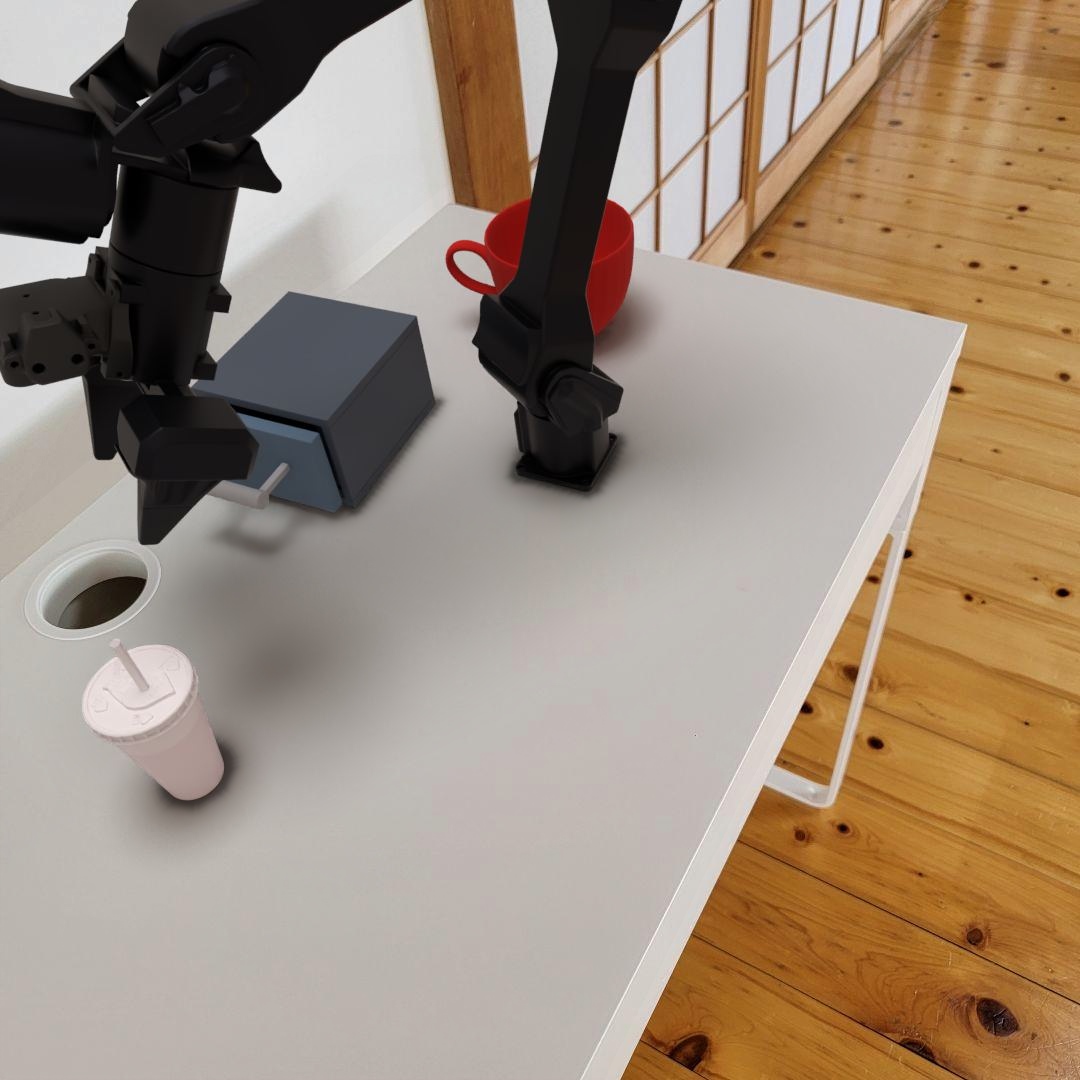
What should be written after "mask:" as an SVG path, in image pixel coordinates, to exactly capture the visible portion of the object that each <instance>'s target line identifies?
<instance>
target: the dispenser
mask: <svg viewBox="0 0 1080 1080" xmlns="http://www.w3.org/2000/svg"><path fill="white" fill-rule="evenodd" d="M215 362H216V363H217V370H216V375H215V379H214V381H212V380H196V381H195V382H194V383H193V384H192V385H191V386H190V388H191V389H192V390H193V392H194V393H195V395H196V396H197V397H219V398H225V400H226V401H227V402H228V403H229V404H231V405H235V406H240V407H244V408H248V409H252V410H256V411H260V412H264V413H268V414H272V415H276V416H280V417H284V418H288V419H293V420H297V421H301V422H305V423H309V424H313V425H317V426H321V428H322V431H323V434H324V437H325V440H326V443H327V446H328V449H329V452H330V455H331V458H332V461H333V464H334V467H335V470H336V473H337V476H338V479H339V482H340V485H341V486H339V485H337V488H338V491H339V494H340V497H341V500H342V504H341V505H343V506H346V507H350V508H354V509H356V508H357V507H358V506H359V504H360V503H361V502H362V501H363V499H364V497H365V496H366V495H367V494H368V492H369V491H370V490H371V488H372V487H373V486H374V485H375V484H376V482H377V480H378V479H380V477H381V475H382V474H383V473H384V471H385V470H386V469H387V468H388V466H389V465H390V464H391V462H392V461H393V460H394V458H395V457H396V455H397V454H398V453H399V452H400V450H401V449H402V448H403V446H404V445H405V444H406V442H407V441H408V440H409V439H410V438H411V436H412V435H413V433H415V431H416V429H417V428H418V427H419V426H420V425H421V423H422V422H423V421H424V419H425V418H426V416H427V415H428V414H429V413H430V411H431V410H432V409H433V407H434V406H435V405H436V397H435V394H434V389H433V385H432V381H431V376H430V371H429V367H428V366H429V365H428V362H427V357H426V352H425V348H424V344H423V338H422V335H421V330H420V325H419V319H418V316H417V315H415V314H409V313H406V312H405V313H404V312H400V311H399V312H398V311H394V310H390V309H389V310H388V309H383V308H379V307H373V306H369V305H363V304H359V303H352V302H349V301H348V302H347V301H341V300H338V299H337V300H336V299H333V298H327V297H322V296H316V295H310V294H305V293H300V292H295V291H289V290H288V291H287V292H286V293H285V294H284V295H283V296H282V297H281V298H280V299H279V300H278V301H277V302H276V303H275V304H274V305H272V307H271V308H270V309H268V311H267V312H266V313H265V314H264V315H263V316H262V317H261V318H260V319H259V320H258V321H257V322H255V323H254V324H253V326H251V327H250V329H249V330H247V331H246V332H245V333H244V334H243V335H242V336H241V337H240V338H239V339H238V340H237V341H236V342H235V343H234V344H233V345H232V346H231V347H230V348H229V349H228V350H227V351H226V352H225V353H224V354H223V355H221V356H220V358H219V359H218V360H217V361H215Z"/></svg>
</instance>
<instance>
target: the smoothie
mask: <svg viewBox="0 0 1080 1080" xmlns="http://www.w3.org/2000/svg"><path fill="white" fill-rule="evenodd" d="M109 647H110V648H111V650H112V651H113V652H114V655H116V656H113V658H111V659H109V660H108V661H107V662H105V663H104V664H103V665H102V666H101V667H100V668H99V669H98V670H97V671H96V672H95V673H94V675H92V677H91V678H90V680H89V681H88V683H87V685H86V687H85V689H84V692H83V695H82V699H81V711H82V712H81V713H82V716H83V718H84V720H85V722H86V723H87V725H88V727H89V729H90V730H91V731H92V734H93V735H94V736H95V737H96V738H98V739H100V740H101V741H102V742H104V743H108V744H111V745H114V746H115V747H117V748H118V749H119V750H120V751H121V752H122V753H124V754H125V755H126V756H127V757H128V758H129V759H130V760H131V761H133V763H135V764H136V765H137V766H139V768H141V769H142V770H143V771H144V772H145V773H146V774H147V775H149V776H150V777H151V778H152V779H153V780H154V781H155V782H157V783H158V784H159V786H161V787H162V788H163V789H165V790H166V791H167V792H168V793H169V795H171V796H172V797H174V798H175V799H178V800H181V801H193V800H197V799H200V798H203V797H205V796H206V795H208V794H209V793H211V792H212V791H213V790H214V789H216V787H217V786H218V785H219V783H220V782H221V780H222V779H223V776H224V772H225V762H224V759H223V756H222V754H221V751H220V748H219V745H218V743H217V740H216V737H215V734H214V731H213V729H212V726H211V724H210V720H209V718H208V715H207V713H206V709H205V706H204V704H203V702H202V699H201V696H200V693H199V677H198V673H197V670H196V669H197V668H195V667H194V665H193V664H192V662H191V661H190V659H189V658H188V657H187V656H186V655H185V654H184V653H183V652H182V651H181V650H179V649H177V648H176V647H173V646H170V645H165V644H144V645H140V646H137V647H134V648H130V649H126V648H125V646H124V644H123V643H122V641H121V640H120V639H118V638H115V639H112V640H111V641H110V642H109Z"/></svg>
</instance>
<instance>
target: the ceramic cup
mask: <svg viewBox="0 0 1080 1080" xmlns="http://www.w3.org/2000/svg"><path fill="white" fill-rule="evenodd" d="M530 201H531V197H528V198H526V199H523V200H520V201H517V202H516V203H513V204H511V205H510V206H508V207H506V208H504V209H503V210H501V211H500V212H498V213H497V214H496V215H495V216H494V217H493V218H492V219H491V221H490V222H489V223H488V225H487V227H486V229H485V231H484V236H483V243H484V244H483V243H480V242H479V241H474V240H471V239H459V240H456V241H454V242H453V243H451V244H450V245H449V247H448V248H447V249H446V254H445V258H444V260H445V265H446V268H447V271H448V272H449V274H450V275H451V276H452V278H453V279H454V280H455V281H456V282H457V283H458V284H460V285H461V286H462V287H464V288H466V289H467V290H470V291H472V292H474V293H477V294H480V295H481V296H483V295H484V294H493V295H499V294H500V293H501V292H502V291H503V289H504V288H505V287H506V286H507V285H508V284H509V283H510V282H511V280H512V279H513V278H514V277H515V275H516V273H517V269H518V265H519V259H520V254H521V249H522V243H523V238H524V233H525V228H526V222H527V217H528V212H529V206H530ZM634 229H635V226H634V222H633V219H632V217H631V214H630V213H629V212H628V211H627V210H626V209H625V208H624V207H623V206H622V205H620V204H619V203H617V202H616V201H614V200H612V199H609V198H607V202H606V207H605V211H604V215H603V219H602V224H601V228H600V232H599V236H598V241H597V245H596V249H595V254H594V258H593V262H592V266H591V271H590V275H589V279H588V284H587V289H586V298H587V302H588V307H589V312H590V316H591V321H592V326H593V330H594V335H595V338H596V337H597V336H599V334H600V333H601V332H602V331H603V329H605V328H606V327H607V326H608V325H609V324H610V323H611V321H612V320H613V319H614V318H615V316H616V315H617V313H618V312H619V310H620V309H621V307H622V305H623V304H624V301H625V298H626V295H627V292H628V290H629V287H630V283H631V278H632V274H633V266H634V254H635V230H634ZM459 252H470V253H473V254H475V255H477V256H478V257H480V258H481V260H483V261H484V263H485V264H486V266H487V268H488V270H489V271H490V274H491V275H490V276H491V278H492V282H493V285H491V284H487V283H486V282H485V283H484V282H482V281H480V280H476V279H474V278H472V277H470V276H469V275H467V274H466V273H465V272H463V271H462V269H461V268H460V267H459V266H458V264H457V263H456V261H455V258H454V255H455V254H456V253H459Z"/></svg>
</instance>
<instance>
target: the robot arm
mask: <svg viewBox="0 0 1080 1080" xmlns="http://www.w3.org/2000/svg"><path fill="white" fill-rule="evenodd" d="M412 1H413V0H136V1H134V3H133V4H132V6H131V7H130V9H129V11H128V12H127V20H126V24H125V25H126V26H125V31H124V35H123V37H122V38H121V39H119V40H118V41H117V42H116V43H115V44H114V45H113V46H112V47H111V48H109V49H108V50H107V51H106V52H105V53H104V54H103V55H102V56H100V57H99V58H98V60H96V61H95V62H94V63H93V64H92V65H91V66H90V67H89V68H87V69H86V70H85V71H84V72H83V73H82V74H81V75H80V76H79V77H78V78H77V79H76V80H75V81H74V82H72V83H71V84H70V86H69V94H70V96H67V95H62V94H57V93H53V92H50V91H49V92H48V91H44V90H39V89H35V88H30V87H26V86H22V85H16V84H13V83H10V82H7V81H5V80H3V79H1V78H0V235H5V236H6V235H7V236H12V237H20V238H29V239H33V240H34V239H35V240H42V241H51V242H57V243H64V244H66V243H67V244H71V245H72V244H73V245H83V244H85V243H86V242H87V241H88V239H89V238H90V239H98V240H99V239H101V237H102V235H103V233H104V229H105V227H107V226H108V225H109V224H110V222H111V228H110V234H109V240H108V246H107V247H106V246H100V245H95V250H94V252H90V253H89V254H88V258H87V266H86V270H85V274H84V275H80V276H73V277H69V276H68V277H65V278H62V277H54V278H46V279H42V280H37V281H32V282H27V283H22V284H16V285H12V286H7V287H1V288H0V375H1V377H2V380H3V382H4V383H5V384H6V385H8V386H10V387H13V388H27V387H33V386H36V385H39V386H46V385H50V384H54V383H59V382H63V381H68V380H71V379H75V378H80V377H81V380H82V381H81V382H82V387H83V393H84V399H85V405H86V406H85V407H86V413H87V420H88V426H89V427H88V428H89V432H90V433H89V434H90V442H91V448H92V454H93V457H94V459H95V460H96V461H112V460H113V459H114V458H115V457H116V456H117V454H118V456H119V458H120V459H121V461H122V463H123V465H124V466H125V468H126V470H127V472H128V473H129V474H130V475H131V476H132V477H133V478H134V479H136V480H137V483H136V484H137V485H136V487H137V488H136V490H137V492H136V493H137V495H136V496H137V498H136V503H137V504H136V505H137V506H136V511H137V512H136V521H137V541H138V542H139V544H140V545H141V546H156V545H159V544H160V543H162V541H163V540H164V539H165V538H166V537H167V536H168V535H169V534H170V533H171V532H172V530H173V529H174V528H175V527H176V526H177V525H179V523H181V521H182V520H183V519H184V518H185V516H187V515H188V514H189V513H190V512H191V510H192V509H193V508H194V507H195V506H197V504H198V503H199V502H200V501H201V500H202V499H203V498H204V497H205V496H207V495H206V494H207V493H209V492H210V491H211V490H212V489H213V488H214V487H216V486H217V485H218V484H219V483H220V482H221V481H222V480H247V479H248V478H249V477H250V476H251V475H252V474H253V470H254V466H255V462H256V458H257V454H258V450H259V445H260V444H259V443H258V442H257V440H256V439H255V437H254V436H253V435H252V433H251V432H250V431H249V429H248V428H247V426H246V425H245V424H244V422H243V421H242V420H241V418H240V417H239V415H238V414H237V413H236V412H235V410H234V409H233V408H232V407H231V406H230V404H229V403H228V402H227V401H226V400H225V398H219V397H197V396H196V395H195V393H194V392H193V390H192V389H191V386H190V385H191V382H192V380H195V381H198V380H212V381H214V379H215V375H216V370H217V363H216V362H217V361H216V360H215V359H214V358H213V357H212V355H211V354H210V352H209V351H208V350H207V349H208V343H209V340H210V334H211V329H212V325H213V319H214V314H215V313H220V314H229V313H230V307H231V303H232V298H233V296H232V295H231V293H230V292H229V291H228V289H226V287H225V286H224V285H223V284H222V282H221V280H222V276H223V270H224V265H225V260H226V256H227V250H228V245H229V242H230V241H229V240H230V236H231V231H232V226H233V221H234V216H235V211H236V207H237V202H238V196H239V192H240V188H242V189H247V190H251V191H257V192H263V193H268V194H278V193H280V192H281V191H282V189H283V183H282V181H281V180H280V179H279V177H278V176H277V175H276V174H275V173H274V171H273V170H272V168H271V166H270V165H269V163H268V162H267V159H266V158H265V156H264V154H263V150H262V147H261V144H260V141H258V140H257V138H255V137H254V136H253V135H254V134H256V133H257V132H258V131H260V130H261V129H262V128H264V126H265V125H267V124H268V123H269V122H270V121H271V120H273V119H274V118H275V117H276V116H277V115H278V114H280V112H281V111H283V110H284V109H285V108H286V107H287V106H289V104H291V103H292V102H293V101H294V100H295V99H297V98H298V97H299V96H300V95H301V94H302V93H303V91H305V89H306V87H307V86H308V84H309V82H310V81H311V80H312V77H313V76H314V75H315V73H316V71H317V69H318V68H319V67H320V65H321V63H322V62H323V60H324V59H325V58H326V57H327V56H329V54H331V53H332V52H333V51H334V50H335V49H337V47H339V45H341V44H342V43H344V42H346V41H347V40H348V39H350V38H352V37H354V36H355V35H357V34H359V33H360V32H362V31H364V30H365V29H367V28H368V27H370V26H372V25H374V24H375V23H377V22H379V21H380V20H382V19H384V18H385V17H388V16H389V15H390V14H393V13H395V12H396V11H397V10H399V9H401V8H402V7H404V6H406V5H407V4H409V3H411V2H412ZM546 1H547V6H548V11H549V15H550V20H551V25H552V30H553V35H554V40H555V44H556V45H555V46H556V51H557V53H556V63H555V64H556V65H555V69H554V73H553V74H554V75H553V80H552V85H551V86H552V87H551V90H550V96H549V100H548V107H547V111H546V117H545V121H544V127H543V132H542V137H541V138H542V140H541V143H540V149H539V154H538V160H537V164H536V165H537V166H536V170H535V175H534V181H533V185H532V191H531V196H530V198H531V201H530V206H529V212H528V217H527V222H526V228H525V233H524V238H523V243H522V249H521V254H520V259H519V265H518V269H517V273H516V275H515V277H514V278H513V279H512V280H511V282H510V283H509V284H508V285H507V286H506V287H505V288H504V289H503V291H502V292H501V293H500V294H499V295H493V294H484V295H481V299H480V301H479V320H478V325H477V329H476V331H475V333H474V336H473V337H472V339H471V344H472V345H473V346H474V347H476V348H477V357H478V361H479V364H480V365H481V366H482V368H483V369H484V370H485V371H486V372H487V373H488V375H490V376H491V378H493V379H494V380H495V382H497V383H498V384H499V385H500V386H502V388H504V389H505V390H506V391H507V392H508V393H509V394H510V395H511V396H512V397H513V398H514V399H515V400H516V407H517V408H516V410H514V412H513V419H514V428H515V435H516V440H517V447H518V451H519V453H521V454H522V455H521V458H520V459H519V461H518V462H517V464H516V465H515V472H516V474H517V475H520V476H523V477H528V478H532V479H536V480H541V481H544V482H548V483H551V484H557V485H560V486H564V487H569V488H573V489H577V490H581V491H590V490H591V489H592V488H593V485H594V484H595V482H596V480H597V479H598V477H599V476H600V474H601V472H602V470H603V469H604V467H605V465H606V463H607V461H608V460H609V457H610V456H611V454H612V452H613V451H614V449H615V447H616V445H617V444H618V436H617V434H615V433H612V432H609V431H610V430H609V429H610V428H609V417H612V416H613V415H615V414H617V413H618V412H619V410H620V409H619V408H620V405H621V402H622V399H623V395H624V391H625V389H624V387H623V386H622V385H620V384H619V383H617V381H615V380H614V379H612V377H611V376H609V375H608V374H607V373H606V372H604V371H603V370H602V369H601V368H600V367H598V366H597V365H596V364H594V356H595V347H596V337H595V335H594V330H593V326H592V321H591V316H590V312H589V307H588V302H587V298H586V289H587V284H588V279H589V275H590V271H591V266H592V262H593V258H594V254H595V249H596V245H597V241H598V236H599V232H600V228H601V224H602V219H603V215H604V211H605V207H606V202H607V199H609V193H610V189H611V185H612V180H613V176H614V171H615V169H616V163H617V159H618V155H619V151H620V146H621V142H622V138H623V134H624V130H625V125H626V120H627V117H628V112H629V108H630V104H631V99H632V96H633V90H634V86H635V82H636V79H637V76H638V73H639V71H640V70H641V69H642V67H643V66H644V65H645V64H646V63H647V61H649V59H650V58H651V57H652V56H653V54H654V53H655V52H656V50H658V48H659V47H660V46H661V45H662V44H663V42H664V41H665V40H666V39H667V37H668V36H669V34H670V33H671V32H672V30H673V28H674V25H675V22H676V19H677V17H678V14H679V11H680V9H681V6H682V4H683V1H684V0H546ZM143 100H146V101H144V102H143V103H142V104H141V105H140V104H139V103H138V102H140V101H143ZM119 165H120V166H119ZM118 171H119V172H118Z"/></svg>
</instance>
